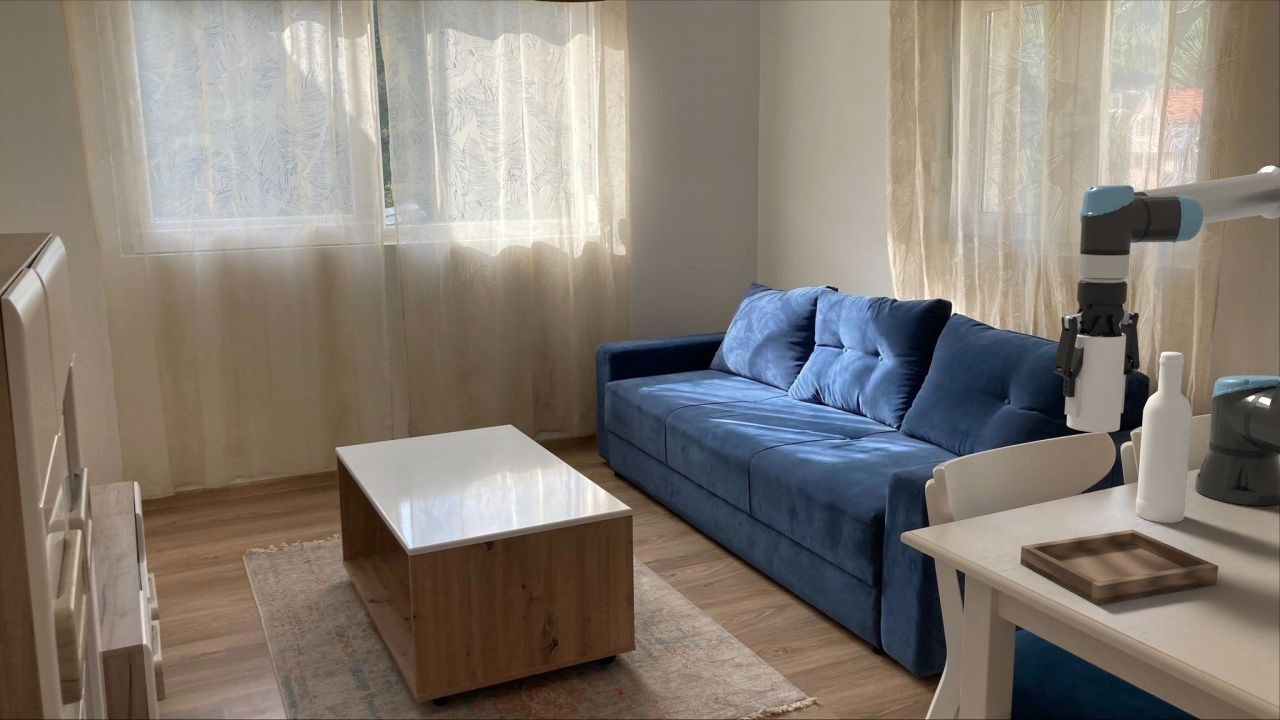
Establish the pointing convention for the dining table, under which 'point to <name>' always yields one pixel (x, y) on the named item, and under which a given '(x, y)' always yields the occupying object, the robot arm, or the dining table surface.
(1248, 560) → the dining table surface
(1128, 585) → the tray
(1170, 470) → the bottle
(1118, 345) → the cup
